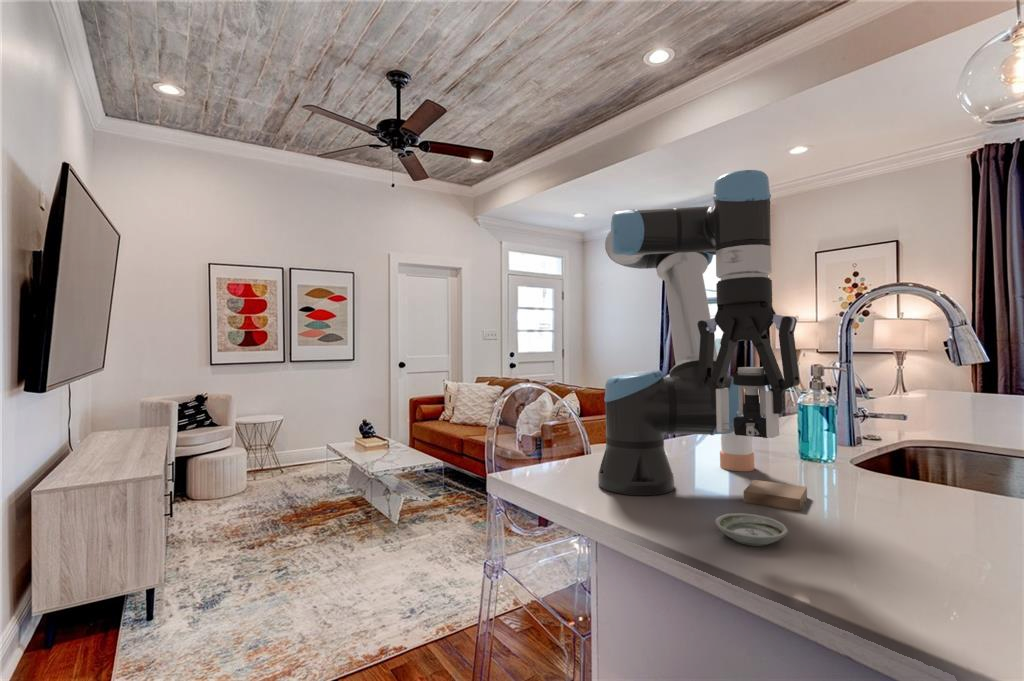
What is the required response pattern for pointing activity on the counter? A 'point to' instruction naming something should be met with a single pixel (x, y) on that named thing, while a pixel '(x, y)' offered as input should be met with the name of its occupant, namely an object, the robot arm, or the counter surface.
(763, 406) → the push button
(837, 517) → the counter surface
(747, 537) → the saucer
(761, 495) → the wooden block
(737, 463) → the pepper shaker
